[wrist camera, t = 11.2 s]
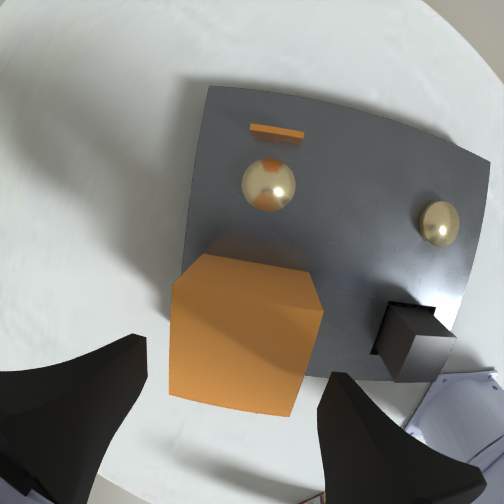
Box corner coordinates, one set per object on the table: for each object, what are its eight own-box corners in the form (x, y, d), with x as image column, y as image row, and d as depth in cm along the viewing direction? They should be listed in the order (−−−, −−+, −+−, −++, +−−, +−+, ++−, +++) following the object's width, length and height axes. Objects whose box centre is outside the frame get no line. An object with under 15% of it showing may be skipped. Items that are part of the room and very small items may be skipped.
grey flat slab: (469, 162, 15) (509, 161, 11) (414, 363, 19) (436, 396, 15) (217, 98, 16) (200, 73, 11) (187, 334, 20) (167, 370, 15)
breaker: (426, 308, 16) (456, 337, 12) (411, 348, 16) (435, 381, 13) (389, 304, 16) (415, 335, 12) (374, 345, 17) (394, 382, 13)
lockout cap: (309, 272, 15) (323, 311, 10) (286, 360, 17) (289, 417, 12) (203, 253, 15) (172, 284, 11) (193, 343, 17) (169, 394, 12)
